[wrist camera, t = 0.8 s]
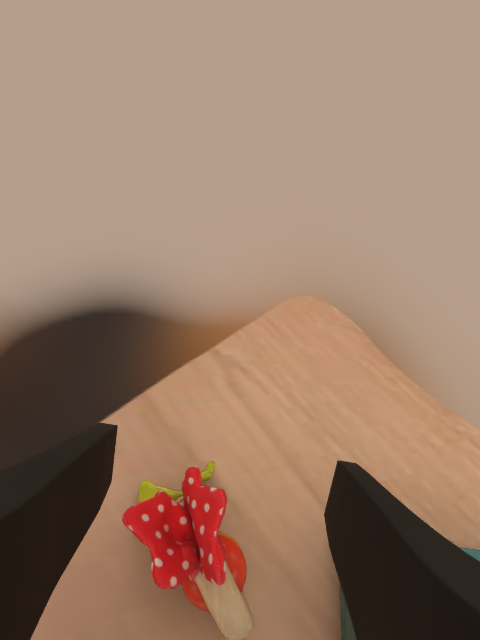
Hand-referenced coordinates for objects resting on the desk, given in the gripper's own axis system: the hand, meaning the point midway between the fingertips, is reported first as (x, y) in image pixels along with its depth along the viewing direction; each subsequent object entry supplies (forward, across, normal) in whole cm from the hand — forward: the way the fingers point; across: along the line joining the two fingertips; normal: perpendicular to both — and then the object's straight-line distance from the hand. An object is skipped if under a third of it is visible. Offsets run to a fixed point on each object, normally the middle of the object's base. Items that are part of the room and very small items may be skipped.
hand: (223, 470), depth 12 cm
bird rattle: (+10, 0, +12) cm, 16 cm away
